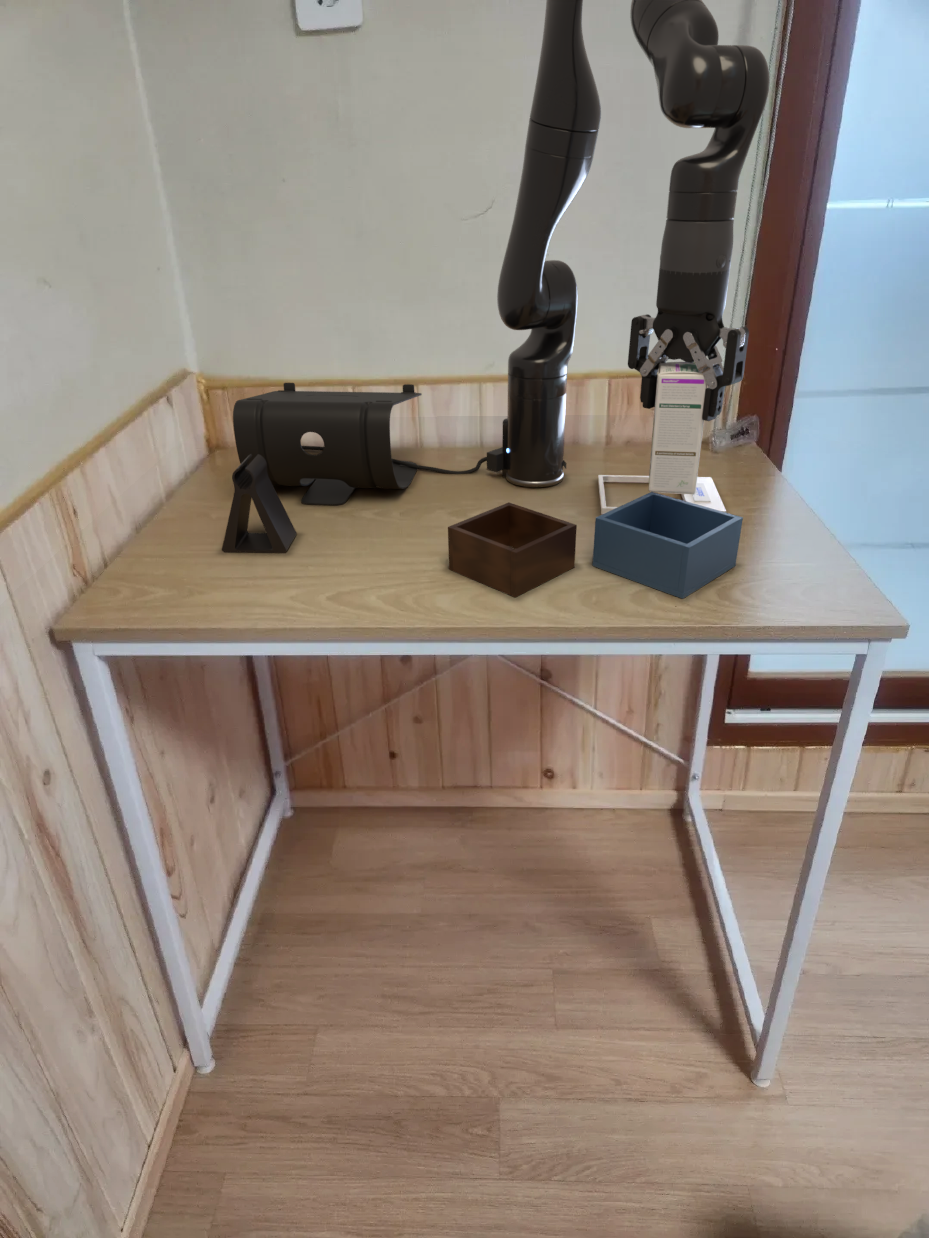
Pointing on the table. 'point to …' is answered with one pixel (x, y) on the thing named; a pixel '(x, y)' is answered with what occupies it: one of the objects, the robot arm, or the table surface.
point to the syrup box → (677, 428)
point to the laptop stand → (346, 428)
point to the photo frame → (703, 494)
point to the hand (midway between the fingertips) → (678, 413)
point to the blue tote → (666, 543)
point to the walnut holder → (512, 571)
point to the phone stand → (269, 507)
